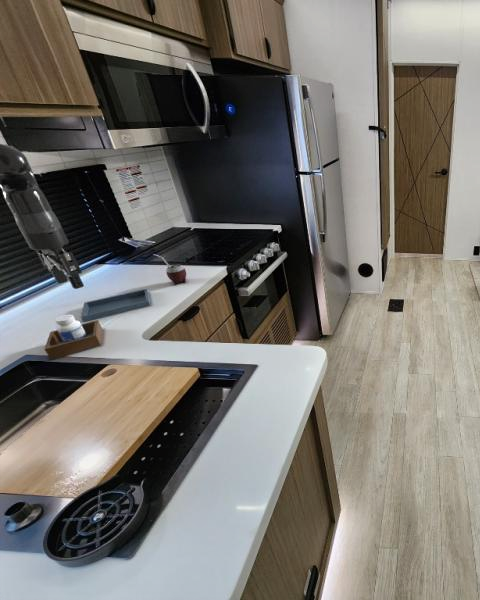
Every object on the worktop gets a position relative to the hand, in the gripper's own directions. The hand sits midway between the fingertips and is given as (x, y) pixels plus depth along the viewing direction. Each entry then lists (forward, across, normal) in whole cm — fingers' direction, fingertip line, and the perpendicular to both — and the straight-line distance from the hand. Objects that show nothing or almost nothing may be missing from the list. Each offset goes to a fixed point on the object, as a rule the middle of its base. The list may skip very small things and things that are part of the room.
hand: (71, 285), depth 93 cm
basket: (+22, -8, -3) cm, 23 cm away
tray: (+21, -24, +17) cm, 36 cm away
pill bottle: (+21, -8, -3) cm, 23 cm away
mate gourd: (+22, -23, +41) cm, 52 cm away
